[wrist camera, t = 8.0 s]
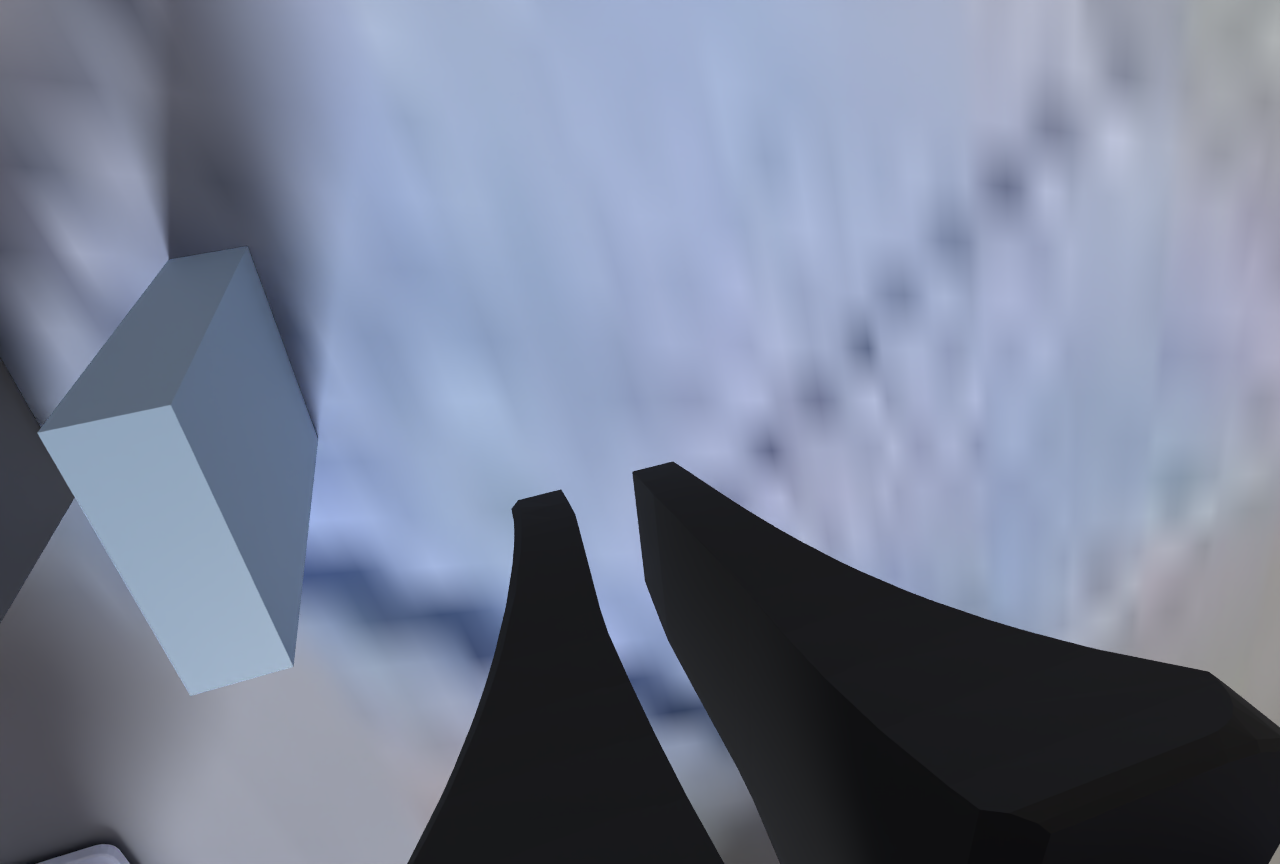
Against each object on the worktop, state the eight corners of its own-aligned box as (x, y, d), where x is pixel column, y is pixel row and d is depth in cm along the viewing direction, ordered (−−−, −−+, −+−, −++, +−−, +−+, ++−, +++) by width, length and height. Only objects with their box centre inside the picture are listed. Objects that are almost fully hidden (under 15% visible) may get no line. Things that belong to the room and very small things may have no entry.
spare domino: (318, 439, 20) (294, 666, 13) (251, 454, 19) (190, 696, 13) (247, 245, 17) (170, 404, 10) (169, 259, 17) (37, 432, 10)
